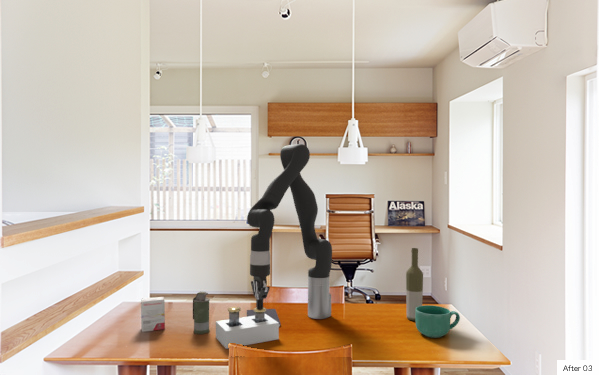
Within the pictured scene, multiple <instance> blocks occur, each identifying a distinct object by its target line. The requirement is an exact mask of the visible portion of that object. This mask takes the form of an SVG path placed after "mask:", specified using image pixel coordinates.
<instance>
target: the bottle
mask: <svg viewBox="0 0 599 375" xmlns="http://www.w3.org/2000/svg"><path fill="white" fill-rule="evenodd" d="M410 252H411V266H410V267H409V268H408V270H406V272H405V284H406V285H405V288H406V289H405V292H406V295H405V296H406V301H405V303H406V319H407V320H409V321H412V322H416V321H415V311H416V307H418V306H423V296H424V295H423V292H424V290H423V289H424V288H423V287H424V286H423V285H424V272H423V271H422V270H421V269H420V268H419V248H417V247H412V248H411V251H410Z"/></svg>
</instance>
